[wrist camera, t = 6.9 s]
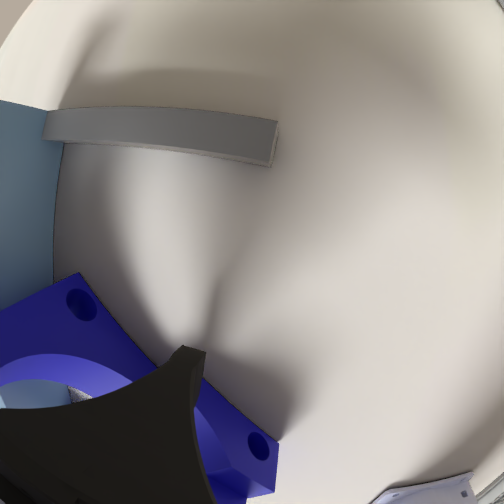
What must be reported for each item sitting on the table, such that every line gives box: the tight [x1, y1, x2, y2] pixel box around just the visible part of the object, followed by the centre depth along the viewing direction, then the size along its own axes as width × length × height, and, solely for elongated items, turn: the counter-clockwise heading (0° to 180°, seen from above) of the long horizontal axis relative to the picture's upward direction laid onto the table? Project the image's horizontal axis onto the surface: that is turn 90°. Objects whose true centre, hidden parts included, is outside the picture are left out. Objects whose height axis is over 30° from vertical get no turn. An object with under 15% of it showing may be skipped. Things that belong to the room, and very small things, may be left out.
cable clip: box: [0, 272, 279, 504], centre depth 8 cm, size 12×4×6 cm, turn 39°
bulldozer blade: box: [0, 100, 279, 409], centre depth 8 cm, size 10×17×5 cm, turn 168°
